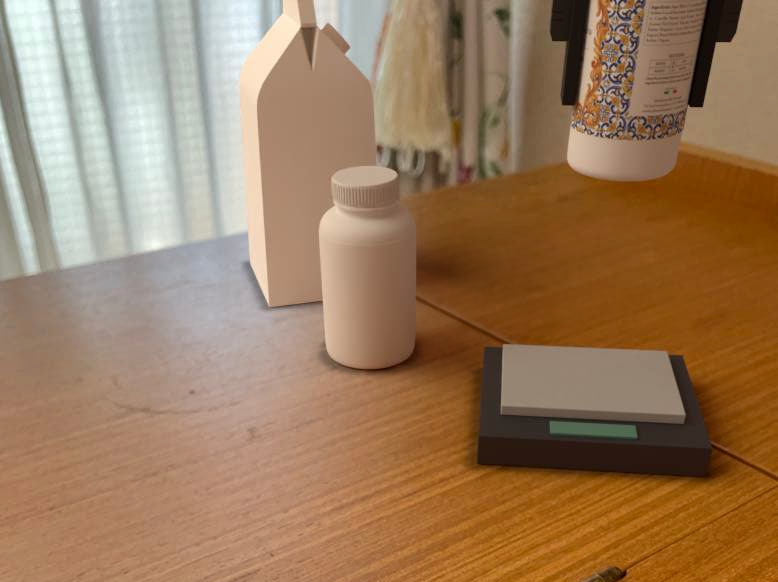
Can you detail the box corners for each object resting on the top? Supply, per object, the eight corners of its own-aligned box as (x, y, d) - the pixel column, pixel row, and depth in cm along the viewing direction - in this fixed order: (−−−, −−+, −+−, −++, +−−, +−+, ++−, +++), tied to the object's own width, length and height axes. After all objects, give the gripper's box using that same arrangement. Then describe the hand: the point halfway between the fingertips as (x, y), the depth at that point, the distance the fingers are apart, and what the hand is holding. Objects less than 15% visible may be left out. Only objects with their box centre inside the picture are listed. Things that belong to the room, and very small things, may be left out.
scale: (676, 381, 72) (685, 345, 70) (705, 477, 61) (715, 438, 59) (482, 372, 74) (485, 337, 72) (476, 463, 63) (479, 425, 61)
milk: (250, 263, 94) (219, -23, 77) (353, 251, 96) (344, -29, 80) (269, 307, 85) (239, -6, 68) (383, 293, 87) (380, -14, 71)
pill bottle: (307, 357, 76) (294, 180, 67) (358, 324, 81) (354, 154, 72) (382, 380, 73) (380, 196, 63) (431, 344, 78) (436, 169, 68)
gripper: (495, -456, 38) (467, 113, 52) (979, -483, 36) (811, 119, 50) (498, -417, 44) (472, 86, 58) (915, -438, 42) (781, 90, 56)
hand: (629, 100), depth 54 cm, fingers closed on bath foam, 7 cm apart
